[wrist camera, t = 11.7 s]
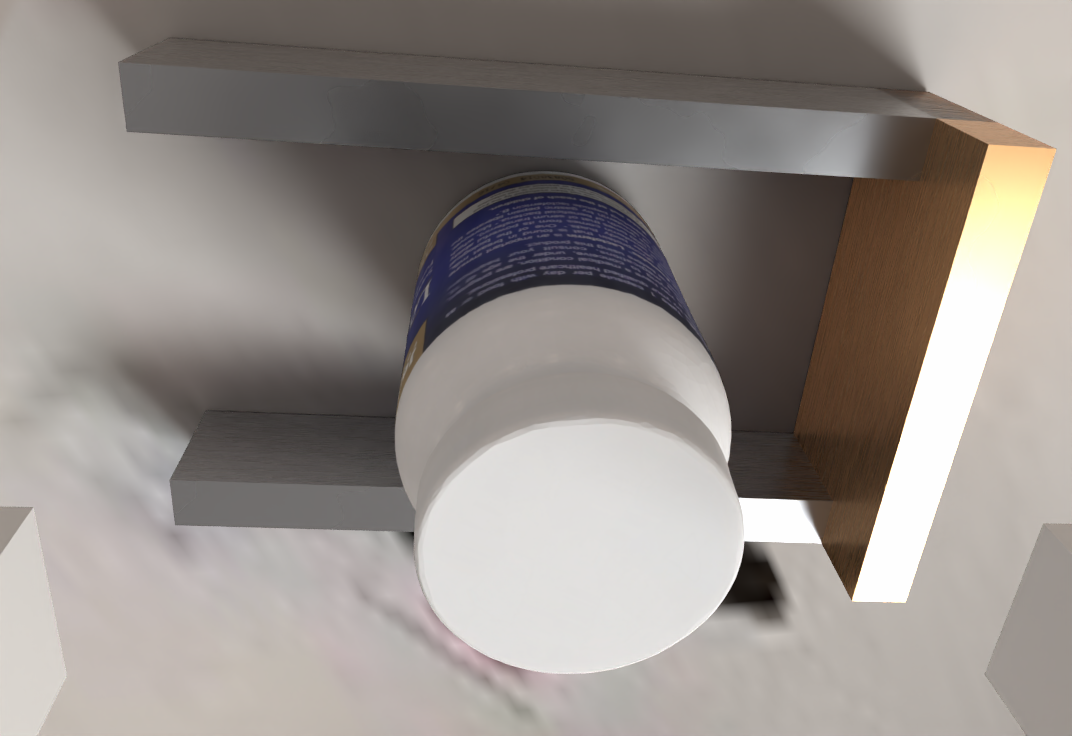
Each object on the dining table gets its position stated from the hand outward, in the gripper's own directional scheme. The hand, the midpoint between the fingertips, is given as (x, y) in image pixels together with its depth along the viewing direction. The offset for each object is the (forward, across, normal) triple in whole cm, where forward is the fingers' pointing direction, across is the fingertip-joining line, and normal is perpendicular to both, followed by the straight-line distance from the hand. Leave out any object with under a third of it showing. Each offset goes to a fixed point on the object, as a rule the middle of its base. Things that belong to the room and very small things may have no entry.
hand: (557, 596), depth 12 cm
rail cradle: (+10, +1, 0) cm, 11 cm away
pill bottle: (+11, +1, 0) cm, 11 cm away
